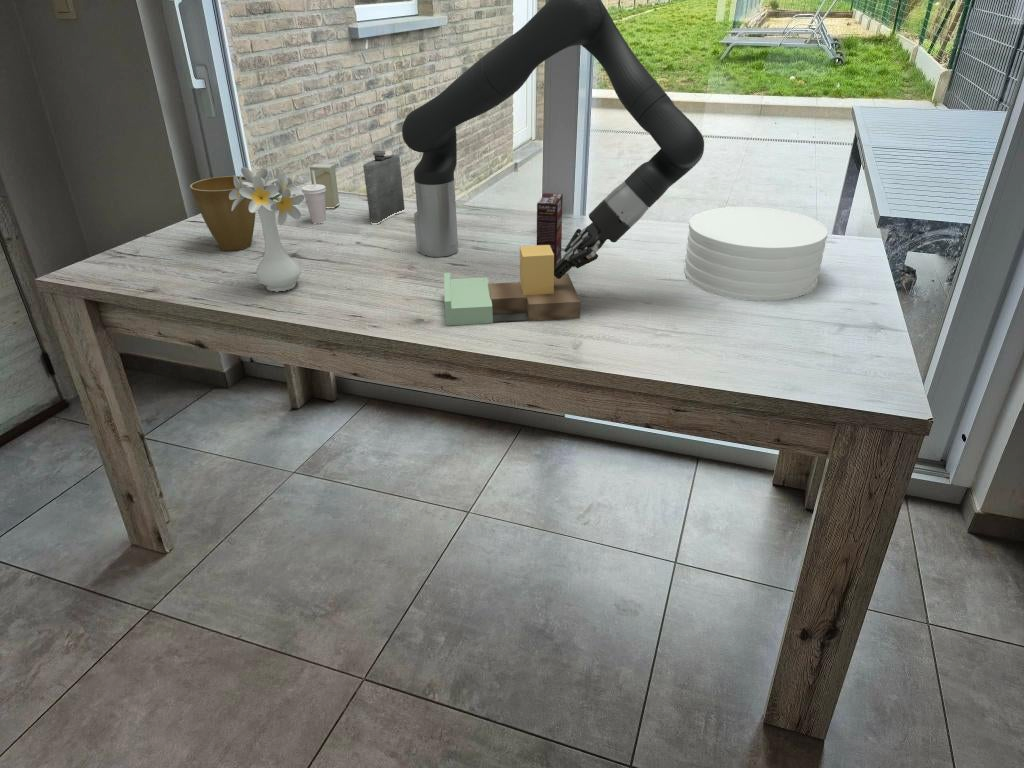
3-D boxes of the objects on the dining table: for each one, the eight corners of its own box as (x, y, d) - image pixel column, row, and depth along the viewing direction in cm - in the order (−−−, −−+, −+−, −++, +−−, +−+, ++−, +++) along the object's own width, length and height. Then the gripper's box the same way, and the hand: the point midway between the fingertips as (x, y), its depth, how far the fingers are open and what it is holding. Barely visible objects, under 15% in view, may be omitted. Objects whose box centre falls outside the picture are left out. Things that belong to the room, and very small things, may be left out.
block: (549, 282, 144) (549, 244, 140) (553, 293, 139) (554, 255, 135) (520, 283, 143) (519, 246, 139) (523, 295, 138) (523, 256, 134)
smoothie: (327, 225, 191) (319, 173, 184) (304, 226, 191) (295, 174, 184) (333, 218, 197) (325, 167, 190) (310, 219, 197) (302, 168, 190)
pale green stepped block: (488, 292, 149) (487, 270, 146) (492, 322, 136) (492, 299, 133) (445, 295, 148) (444, 272, 145) (446, 325, 135) (444, 301, 133)
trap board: (567, 288, 150) (567, 273, 148) (579, 318, 137) (580, 301, 135) (487, 292, 149) (486, 277, 147) (491, 323, 136) (491, 306, 134)
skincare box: (314, 209, 205) (308, 166, 199) (320, 204, 209) (314, 163, 203) (335, 209, 204) (328, 167, 198) (340, 205, 208) (334, 163, 202)
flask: (365, 223, 192) (357, 156, 183) (396, 209, 203) (389, 145, 194) (376, 225, 191) (368, 157, 182) (406, 211, 202) (400, 146, 193)
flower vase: (291, 306, 144) (268, 183, 132) (232, 288, 153) (205, 172, 141) (336, 285, 154) (319, 169, 141) (279, 270, 163) (257, 159, 150)
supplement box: (556, 274, 157) (557, 204, 149) (535, 273, 158) (535, 203, 150) (562, 261, 164) (563, 193, 156) (541, 260, 165) (542, 192, 157)
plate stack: (739, 311, 139) (748, 256, 133) (659, 265, 161) (663, 216, 155) (846, 287, 148) (858, 234, 142) (756, 247, 170) (764, 200, 165)
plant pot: (242, 258, 170) (228, 192, 162) (192, 252, 174) (176, 188, 166) (279, 239, 182) (267, 177, 174) (231, 234, 186) (217, 173, 178)
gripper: (598, 189, 139) (537, 251, 144) (613, 209, 128) (546, 275, 133) (623, 215, 142) (562, 274, 147) (639, 235, 131) (572, 299, 136)
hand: (554, 275), depth 140 cm, fingers closed
